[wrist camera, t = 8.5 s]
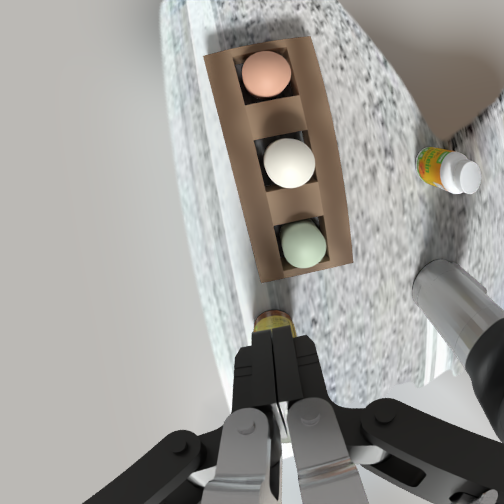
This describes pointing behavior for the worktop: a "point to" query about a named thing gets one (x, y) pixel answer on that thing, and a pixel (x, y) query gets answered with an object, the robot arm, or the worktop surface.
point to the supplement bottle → (448, 170)
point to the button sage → (302, 243)
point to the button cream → (289, 162)
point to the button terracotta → (265, 75)
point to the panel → (276, 123)
